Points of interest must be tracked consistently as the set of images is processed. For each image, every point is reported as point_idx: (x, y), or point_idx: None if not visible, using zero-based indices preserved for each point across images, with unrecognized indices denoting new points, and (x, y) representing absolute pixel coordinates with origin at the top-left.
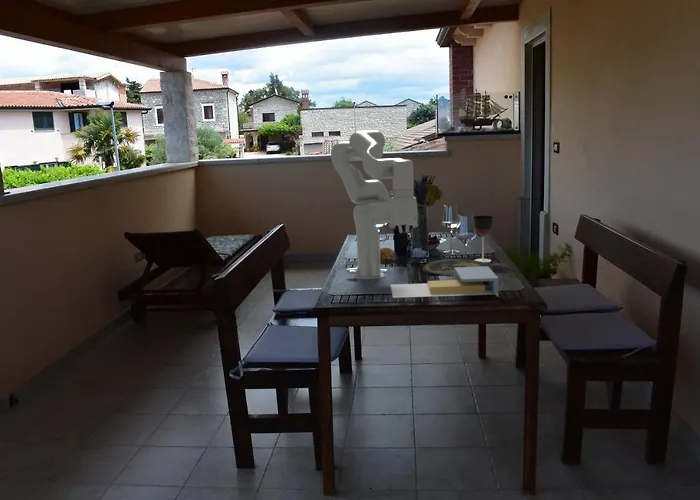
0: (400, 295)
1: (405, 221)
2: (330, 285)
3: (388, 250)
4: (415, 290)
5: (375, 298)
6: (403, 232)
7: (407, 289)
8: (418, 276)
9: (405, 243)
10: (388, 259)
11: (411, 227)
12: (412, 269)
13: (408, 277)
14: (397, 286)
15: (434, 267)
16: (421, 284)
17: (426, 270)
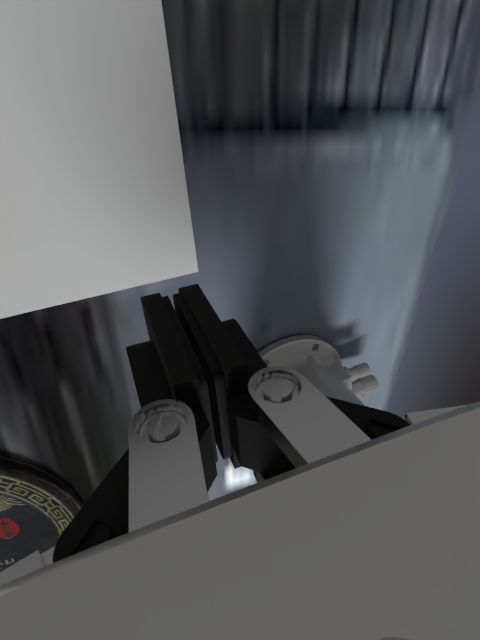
0: (113, 32)
1: (294, 587)
2: (423, 263)
3: None
4: (34, 162)
5: (260, 35)
6: (222, 433)
7: (92, 184)
8: (87, 441)
9: (152, 296)
10: None
11: (81, 529)
12: None
13: (130, 419)
14: (159, 241)
15: (34, 540)
16: (28, 294)
17: (59, 494)
